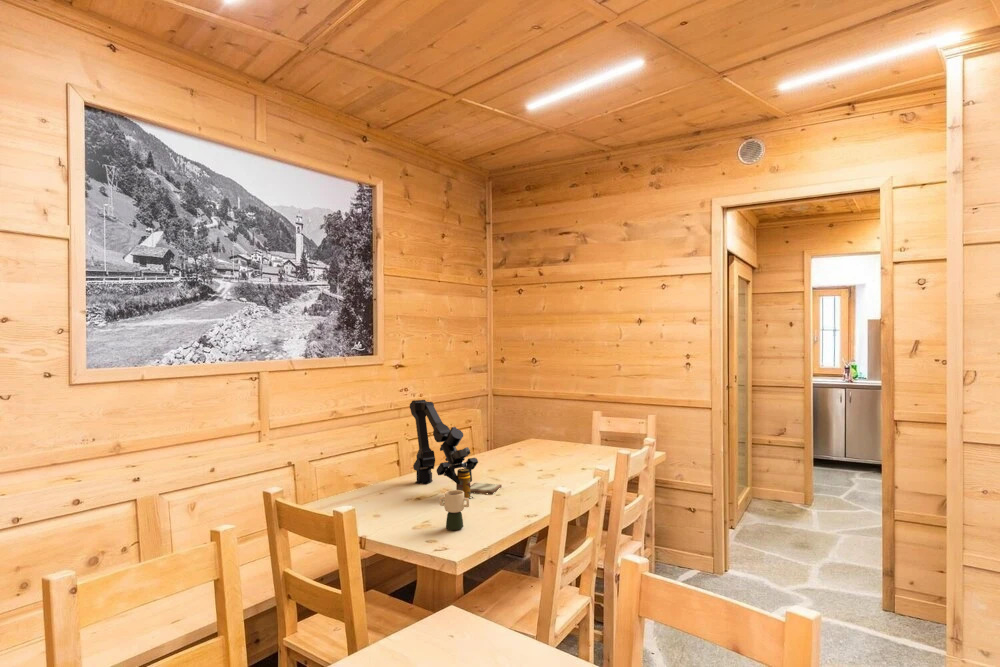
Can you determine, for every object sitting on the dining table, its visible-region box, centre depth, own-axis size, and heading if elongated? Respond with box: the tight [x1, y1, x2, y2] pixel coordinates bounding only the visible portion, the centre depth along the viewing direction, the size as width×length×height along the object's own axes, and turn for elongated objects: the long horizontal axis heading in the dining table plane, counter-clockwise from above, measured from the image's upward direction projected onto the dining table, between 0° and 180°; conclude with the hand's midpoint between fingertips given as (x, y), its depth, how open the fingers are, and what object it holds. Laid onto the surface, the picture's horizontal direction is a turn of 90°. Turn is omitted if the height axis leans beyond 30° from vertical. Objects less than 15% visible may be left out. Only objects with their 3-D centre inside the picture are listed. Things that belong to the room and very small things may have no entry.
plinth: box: [470, 482, 503, 495], centre depth 259 cm, size 13×13×2 cm
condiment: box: [455, 468, 471, 498], centre depth 246 cm, size 7×8×12 cm
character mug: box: [439, 489, 470, 531], centre depth 205 cm, size 11×7×13 cm, turn 78°
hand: (465, 482), depth 245 cm, fingers closed on condiment, 6 cm apart
